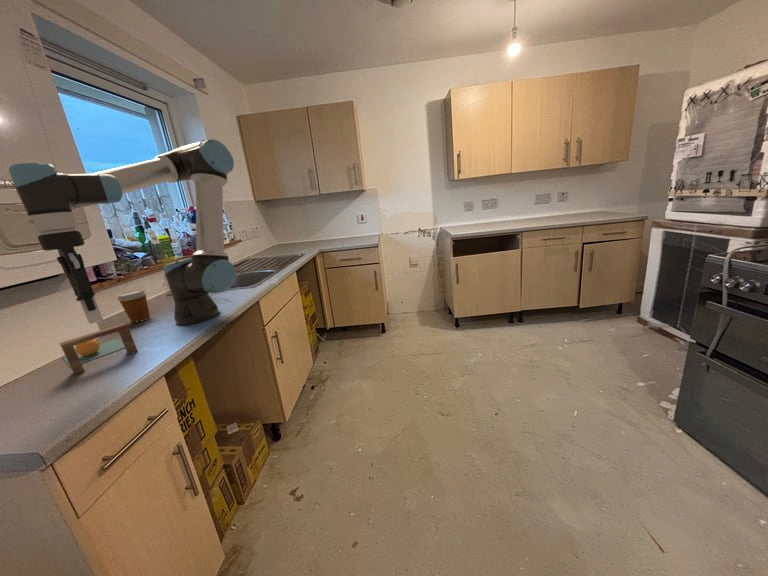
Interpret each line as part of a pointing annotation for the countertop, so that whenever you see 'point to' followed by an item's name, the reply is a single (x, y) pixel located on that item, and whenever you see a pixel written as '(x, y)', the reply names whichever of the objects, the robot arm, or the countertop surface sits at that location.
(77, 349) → the ball
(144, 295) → the disposable coffee cup
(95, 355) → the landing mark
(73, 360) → the bridge
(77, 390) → the countertop surface
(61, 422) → the countertop surface
